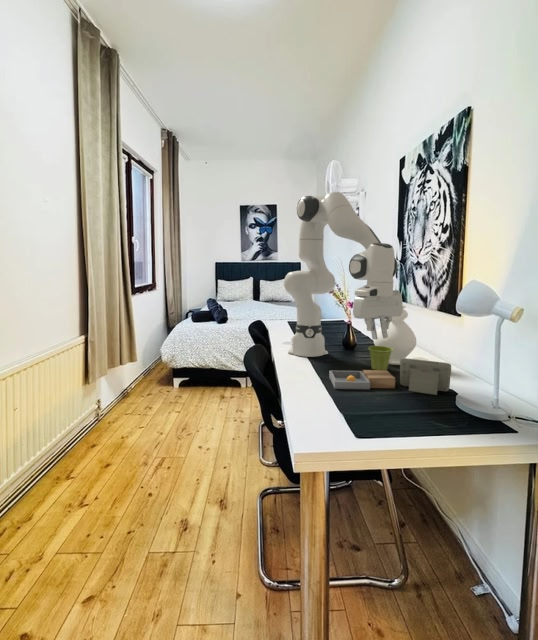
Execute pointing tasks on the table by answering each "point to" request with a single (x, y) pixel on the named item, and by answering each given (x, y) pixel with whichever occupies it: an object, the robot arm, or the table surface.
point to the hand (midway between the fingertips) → (377, 330)
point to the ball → (351, 378)
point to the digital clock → (425, 375)
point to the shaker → (383, 327)
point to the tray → (341, 381)
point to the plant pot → (379, 357)
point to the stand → (380, 378)
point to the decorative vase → (397, 338)
